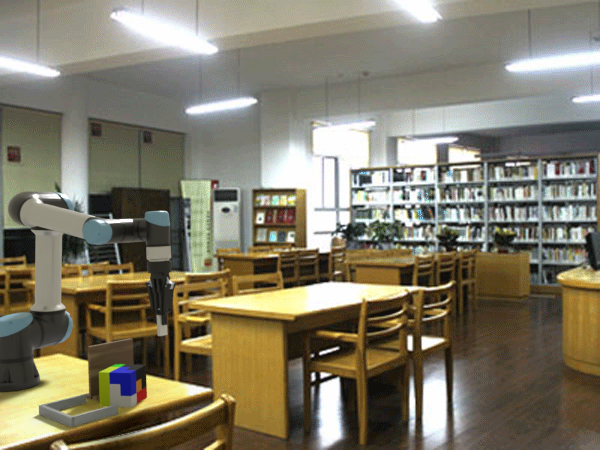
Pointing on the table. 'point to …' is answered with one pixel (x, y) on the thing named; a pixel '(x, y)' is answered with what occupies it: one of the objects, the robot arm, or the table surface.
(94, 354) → the screen
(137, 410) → the table surface
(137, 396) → the puzzle toy
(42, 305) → the robot arm
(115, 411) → the corral
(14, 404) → the table surface
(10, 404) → the table surface
